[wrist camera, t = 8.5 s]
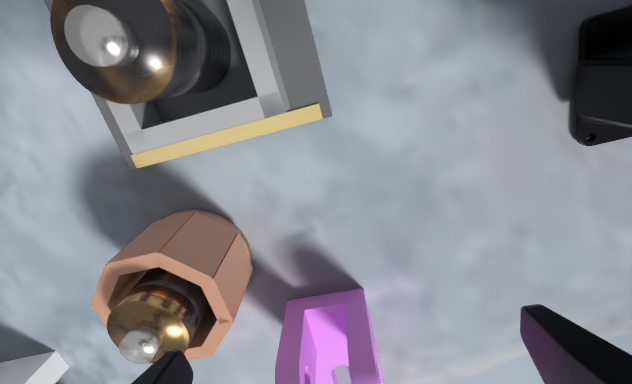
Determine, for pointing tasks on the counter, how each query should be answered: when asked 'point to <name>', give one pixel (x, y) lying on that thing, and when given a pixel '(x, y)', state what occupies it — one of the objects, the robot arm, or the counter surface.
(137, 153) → the cradle
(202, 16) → the cell
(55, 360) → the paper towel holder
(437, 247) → the counter surface
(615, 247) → the counter surface
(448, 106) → the counter surface
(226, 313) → the cup
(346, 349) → the bracket
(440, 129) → the counter surface
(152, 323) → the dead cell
